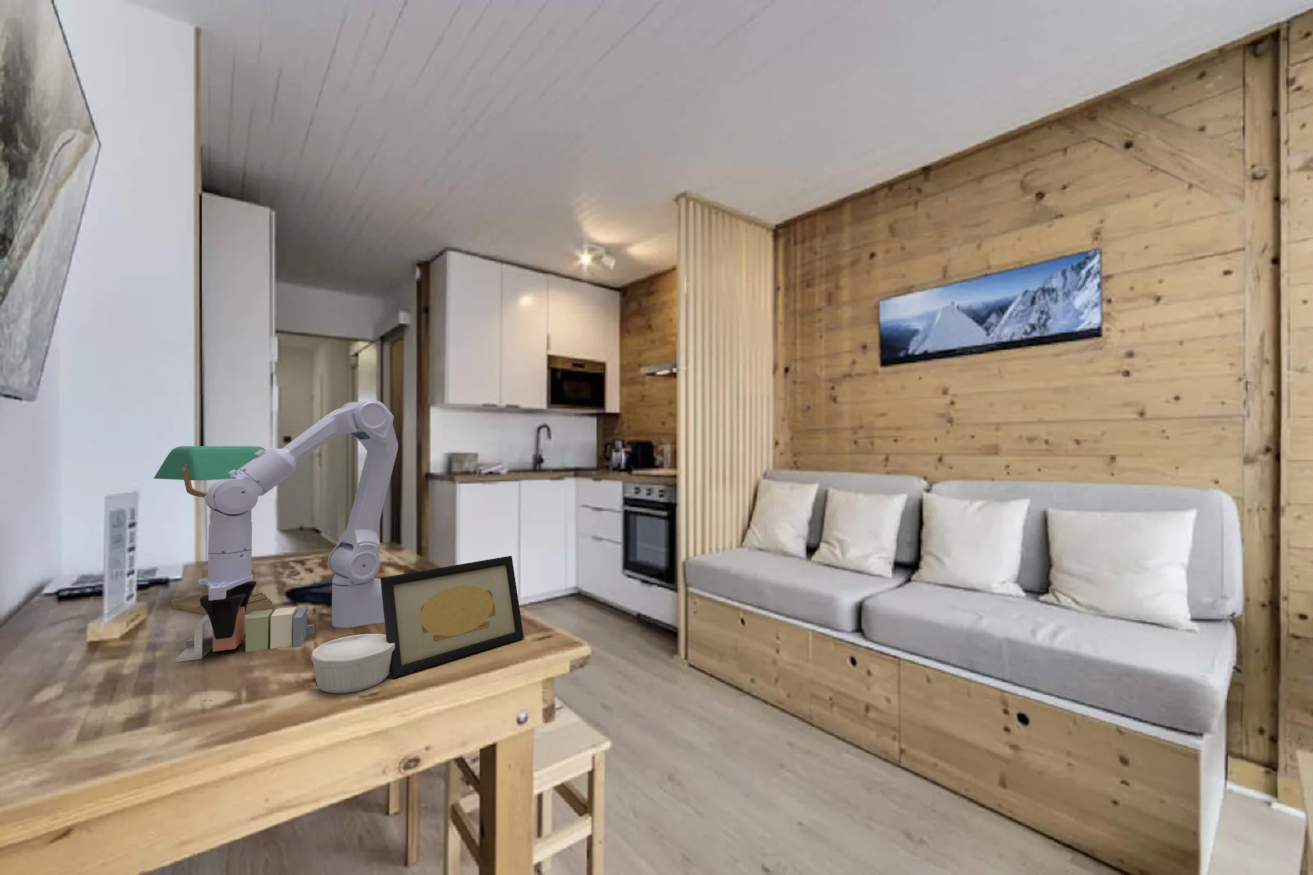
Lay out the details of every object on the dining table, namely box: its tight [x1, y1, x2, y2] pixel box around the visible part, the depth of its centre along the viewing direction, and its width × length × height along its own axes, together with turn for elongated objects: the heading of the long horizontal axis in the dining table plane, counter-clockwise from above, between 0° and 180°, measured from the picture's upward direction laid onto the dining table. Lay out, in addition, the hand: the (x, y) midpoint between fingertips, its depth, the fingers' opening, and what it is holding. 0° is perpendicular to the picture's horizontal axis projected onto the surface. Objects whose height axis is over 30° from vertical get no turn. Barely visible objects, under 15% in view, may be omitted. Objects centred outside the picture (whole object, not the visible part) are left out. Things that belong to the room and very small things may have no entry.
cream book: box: [269, 606, 298, 650], centre depth 93 cm, size 3×4×6 cm
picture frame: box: [379, 555, 525, 679], centre depth 93 cm, size 23×9×15 cm, turn 137°
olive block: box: [244, 608, 274, 653], centre depth 91 cm, size 3×4×6 cm
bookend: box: [175, 615, 213, 663], centre depth 87 cm, size 3×6×6 cm, turn 26°
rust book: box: [212, 607, 246, 652], centre depth 89 cm, size 3×5×6 cm, turn 24°
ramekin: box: [310, 633, 395, 694], centre depth 81 cm, size 11×11×5 cm
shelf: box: [186, 606, 315, 648], centre depth 90 cm, size 18×8×6 cm, turn 116°
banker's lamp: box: [153, 445, 273, 616], centre depth 116 cm, size 16×21×35 cm
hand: (229, 632), depth 89 cm, fingers open, 5 cm apart
